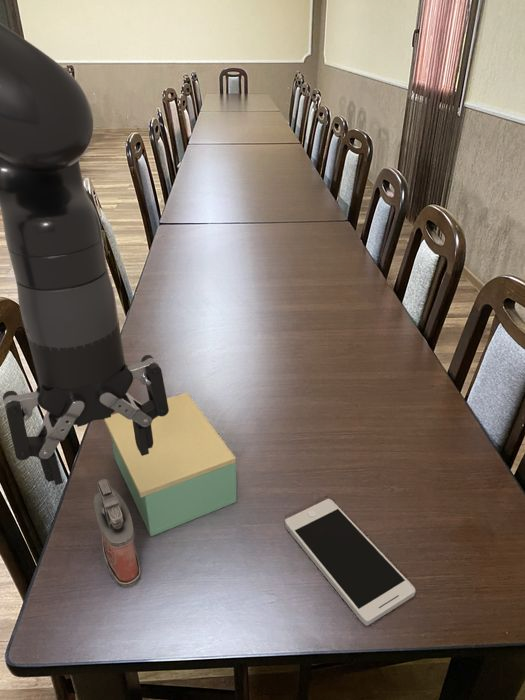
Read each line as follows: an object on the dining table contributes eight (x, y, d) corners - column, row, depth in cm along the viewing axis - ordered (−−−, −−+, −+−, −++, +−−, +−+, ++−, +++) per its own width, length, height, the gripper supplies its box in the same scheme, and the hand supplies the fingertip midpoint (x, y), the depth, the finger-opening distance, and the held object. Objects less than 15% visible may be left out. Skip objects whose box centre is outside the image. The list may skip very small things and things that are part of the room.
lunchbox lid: (140, 498, 61) (139, 492, 61) (104, 421, 73) (103, 417, 72) (236, 462, 66) (235, 457, 66) (187, 396, 78) (187, 392, 77)
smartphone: (329, 502, 70) (329, 497, 69) (416, 595, 58) (417, 589, 58) (283, 524, 66) (283, 519, 66) (365, 627, 55) (366, 622, 55)
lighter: (147, 580, 60) (137, 517, 54) (116, 593, 58) (103, 530, 53) (125, 529, 66) (114, 468, 60) (97, 540, 64) (84, 478, 59)
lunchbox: (150, 537, 65) (144, 496, 61) (114, 458, 76) (107, 420, 73) (236, 502, 70) (236, 463, 66) (190, 433, 81) (187, 396, 78)
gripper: (-15, 364, 40) (33, 516, 48) (167, 321, 46) (182, 463, 54) (-24, 322, 45) (21, 465, 54) (140, 288, 51) (157, 421, 60)
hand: (101, 464), depth 54 cm, fingers open, 8 cm apart
